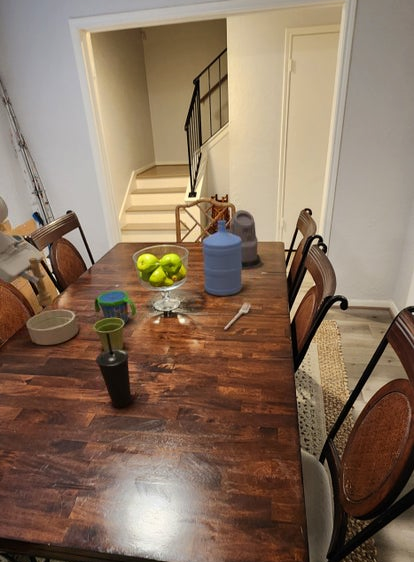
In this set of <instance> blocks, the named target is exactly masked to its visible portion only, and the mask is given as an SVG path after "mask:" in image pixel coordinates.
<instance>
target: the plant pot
mask: <svg viewBox="0 0 414 562" xmlns="http://www.w3.org/2000/svg"><path fill="white" fill-rule="evenodd" d="M124 326H125V323H124V321H123V320H122V319H120V318H106V319H105V318H103V319H100V320H98V321H96V322H95V323H94V324H93V327H92V328H93V330H94V331H95V332H96V334H97V336H98V338H99V341H100V344H101V346H102V349H103V352H104V351H107V350H109V346H108V342H107V337H106V333H109V337H110V342H111V346H112V349H122V350H123V348H124V334H123V333H124V331H123V330H124Z"/></svg>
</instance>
